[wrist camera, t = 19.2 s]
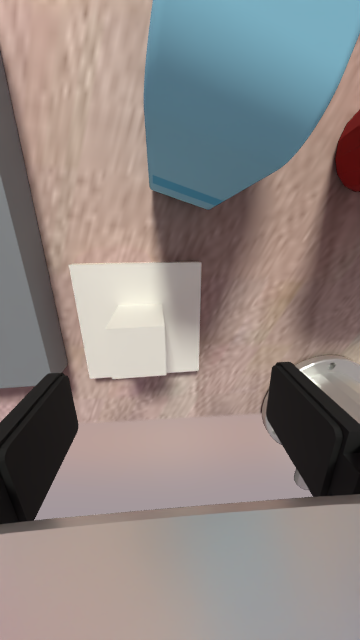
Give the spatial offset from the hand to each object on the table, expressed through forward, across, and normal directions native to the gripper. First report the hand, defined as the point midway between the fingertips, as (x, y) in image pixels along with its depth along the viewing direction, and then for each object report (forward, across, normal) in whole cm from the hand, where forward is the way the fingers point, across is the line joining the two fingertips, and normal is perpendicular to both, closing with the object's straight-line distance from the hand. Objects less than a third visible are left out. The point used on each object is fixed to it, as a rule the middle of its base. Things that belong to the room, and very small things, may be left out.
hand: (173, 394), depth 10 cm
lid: (+10, +2, 0) cm, 11 cm away
